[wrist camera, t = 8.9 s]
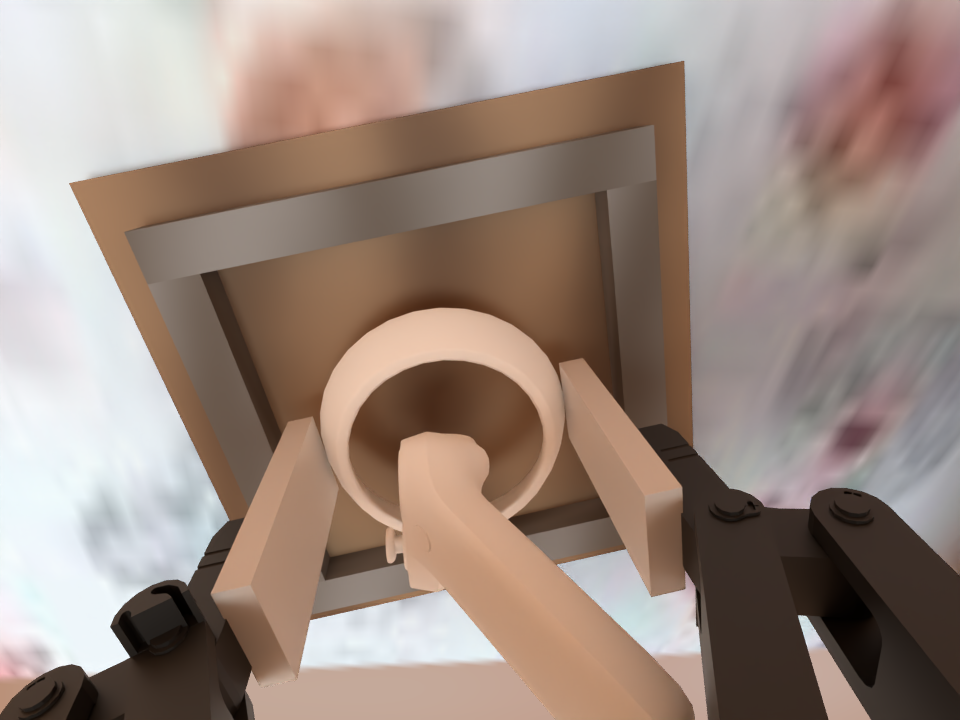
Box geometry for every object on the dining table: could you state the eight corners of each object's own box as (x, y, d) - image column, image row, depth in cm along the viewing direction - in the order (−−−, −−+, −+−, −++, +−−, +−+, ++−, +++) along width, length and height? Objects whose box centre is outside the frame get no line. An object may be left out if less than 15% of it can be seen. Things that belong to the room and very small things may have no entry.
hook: (758, 651, 14) (601, 886, 11) (474, 428, 22) (320, 520, 18) (878, 460, 10) (687, 742, 6) (473, 262, 17) (270, 337, 14)
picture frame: (668, 65, 16) (705, 54, 14) (684, 518, 23) (709, 553, 21) (89, 181, 16) (41, 186, 14) (286, 607, 23) (273, 652, 21)
